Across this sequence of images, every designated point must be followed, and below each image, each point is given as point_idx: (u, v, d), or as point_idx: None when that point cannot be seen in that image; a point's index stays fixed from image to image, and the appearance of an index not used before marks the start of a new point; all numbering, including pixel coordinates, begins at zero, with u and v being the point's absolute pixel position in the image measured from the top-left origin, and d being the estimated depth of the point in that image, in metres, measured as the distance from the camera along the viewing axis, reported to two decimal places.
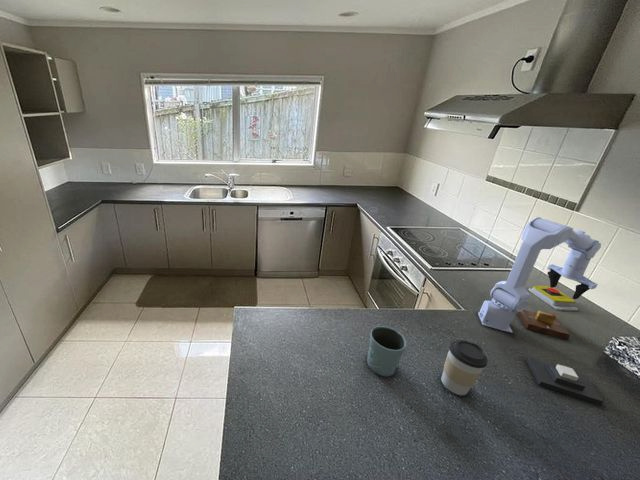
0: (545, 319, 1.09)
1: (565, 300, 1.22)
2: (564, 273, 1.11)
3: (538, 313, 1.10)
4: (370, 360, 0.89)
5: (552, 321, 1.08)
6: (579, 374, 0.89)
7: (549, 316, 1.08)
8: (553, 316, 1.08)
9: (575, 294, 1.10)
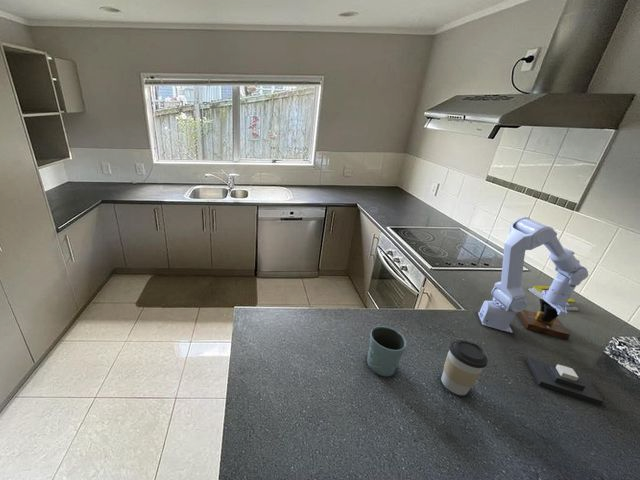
0: None
1: None
2: (545, 296, 1.08)
3: (538, 313, 1.10)
4: (370, 360, 0.89)
5: (552, 321, 1.08)
6: (579, 374, 0.89)
7: None
8: None
9: (543, 315, 1.08)
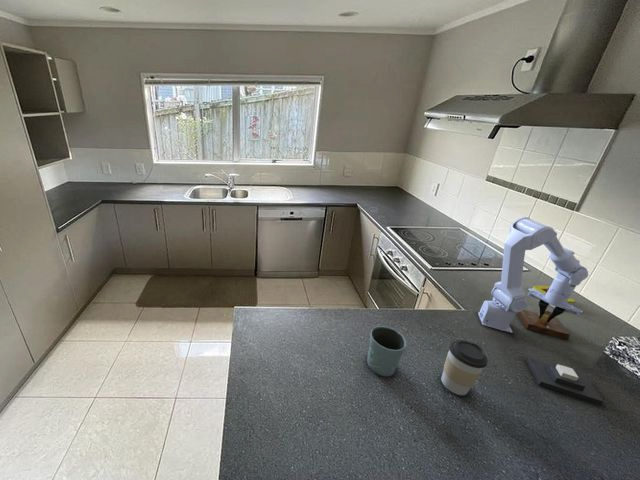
0: (547, 319, 1.09)
1: None
2: (550, 300, 1.05)
3: (545, 317, 1.08)
4: (370, 360, 0.89)
5: None
6: (579, 374, 0.89)
7: (549, 315, 1.09)
8: (550, 313, 1.09)
9: (550, 317, 1.07)
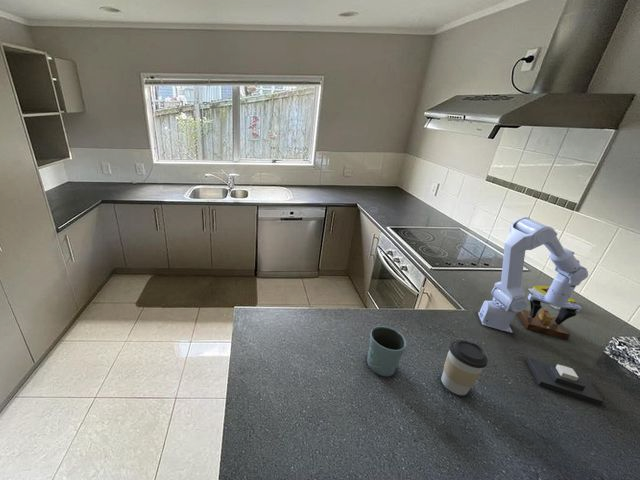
0: None
1: None
2: (555, 302, 1.04)
3: (549, 319, 1.07)
4: (370, 360, 0.89)
5: None
6: (579, 374, 0.89)
7: None
8: None
9: (562, 320, 1.06)
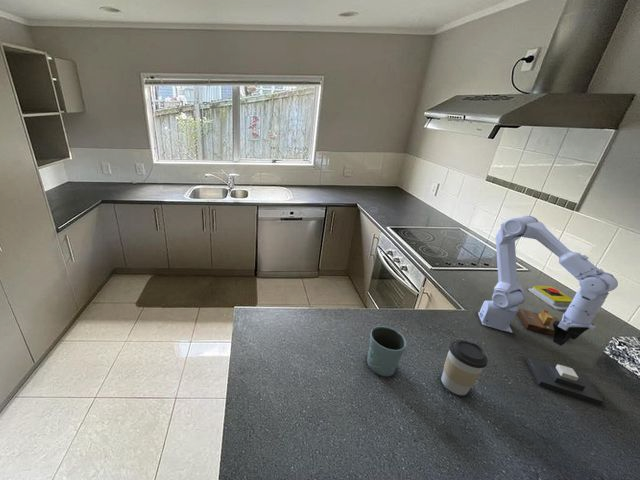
0: None
1: (565, 300, 1.22)
2: None
3: (549, 319, 1.07)
4: (370, 360, 0.89)
5: None
6: (579, 374, 0.89)
7: None
8: None
9: None
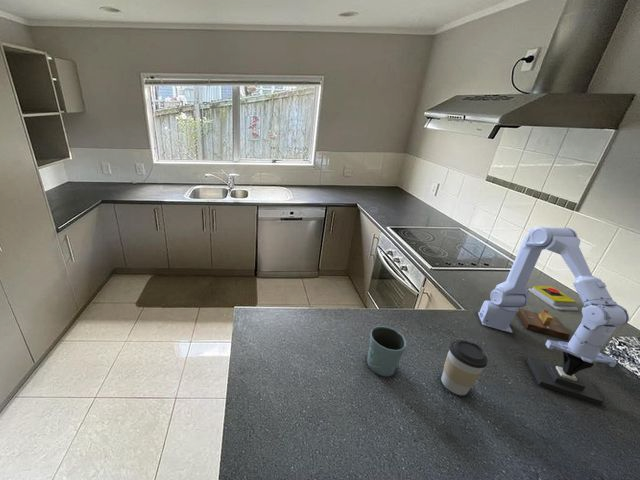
0: None
1: (565, 300, 1.22)
2: None
3: (549, 319, 1.07)
4: (370, 360, 0.89)
5: None
6: (579, 374, 0.89)
7: None
8: None
9: None
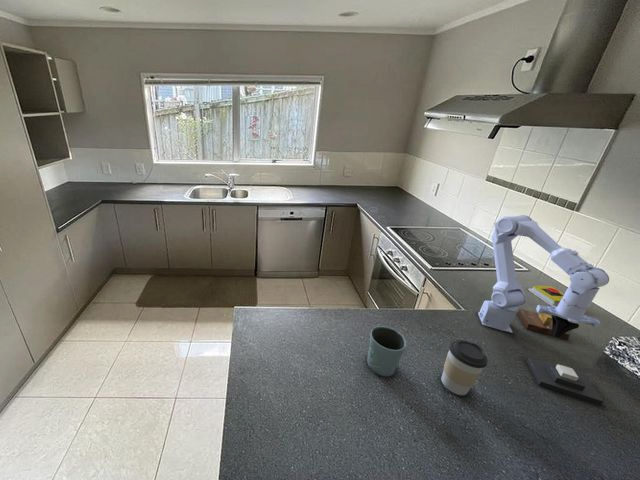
0: None
1: None
2: None
3: (549, 319, 1.07)
4: (370, 360, 0.89)
5: None
6: (579, 374, 0.89)
7: None
8: None
9: None
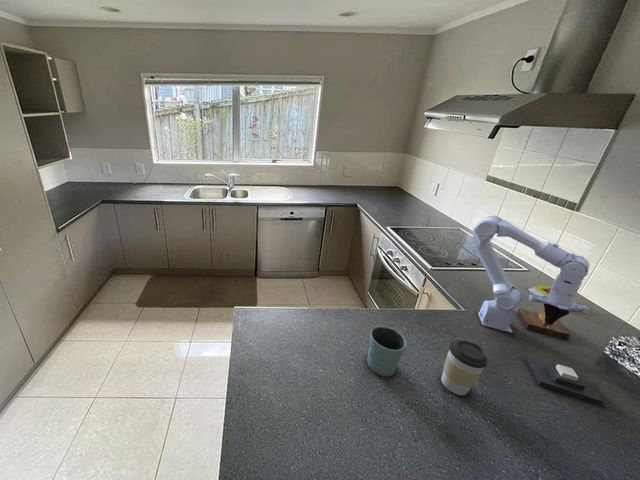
0: None
1: None
2: None
3: None
4: (370, 360, 0.89)
5: None
6: (579, 374, 0.89)
7: None
8: None
9: None
